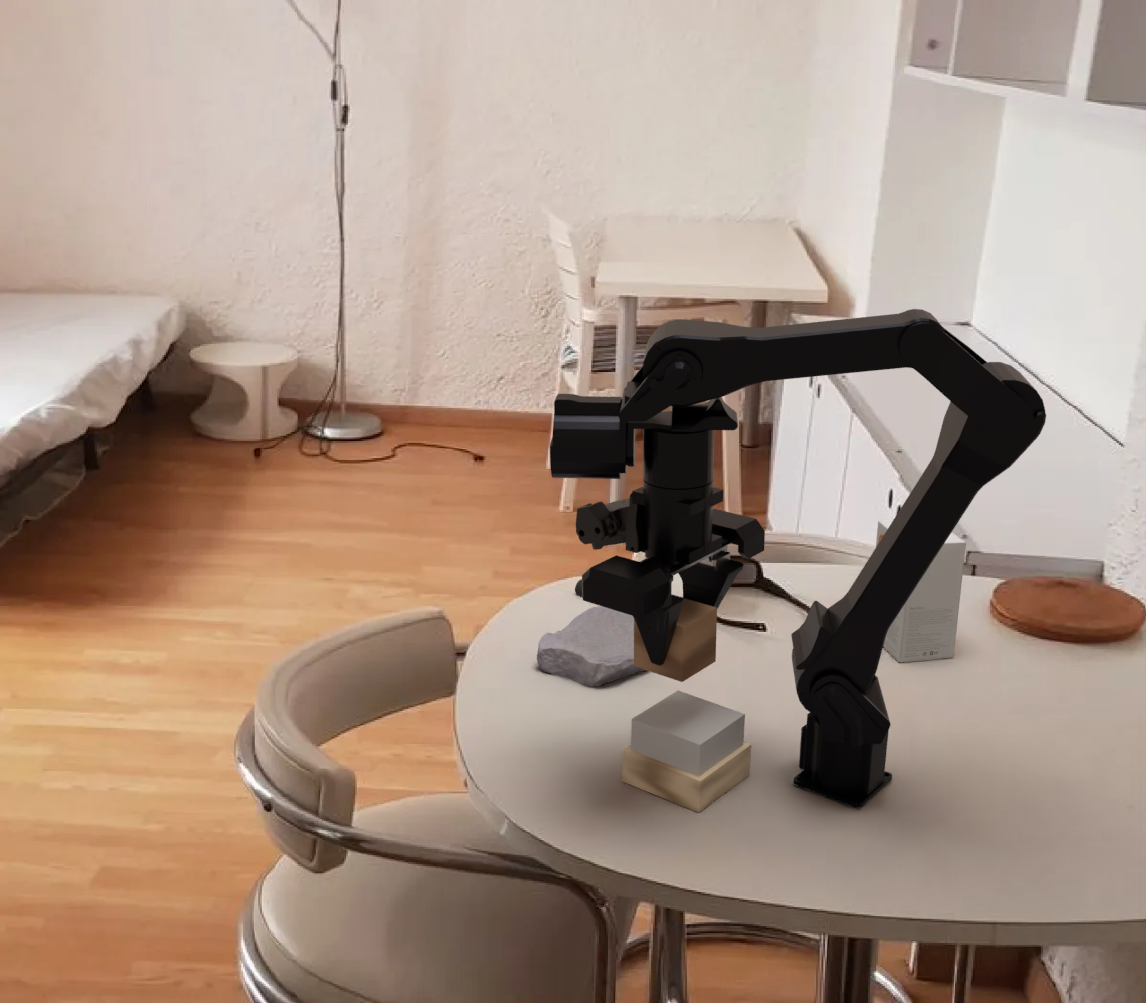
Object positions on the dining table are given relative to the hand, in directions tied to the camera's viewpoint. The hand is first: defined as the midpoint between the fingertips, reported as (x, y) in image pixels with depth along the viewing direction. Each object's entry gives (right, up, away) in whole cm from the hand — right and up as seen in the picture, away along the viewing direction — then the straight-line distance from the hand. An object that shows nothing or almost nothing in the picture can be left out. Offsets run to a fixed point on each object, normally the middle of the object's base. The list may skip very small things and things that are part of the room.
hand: (675, 652), depth 119 cm
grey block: (+1, -8, +2) cm, 9 cm away
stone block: (-5, -4, +25) cm, 26 cm away
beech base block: (+1, -11, +3) cm, 12 cm away
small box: (+27, -3, +30) cm, 40 cm away
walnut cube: (0, -1, 0) cm, 1 cm away
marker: (-2, 0, +37) cm, 37 cm away
